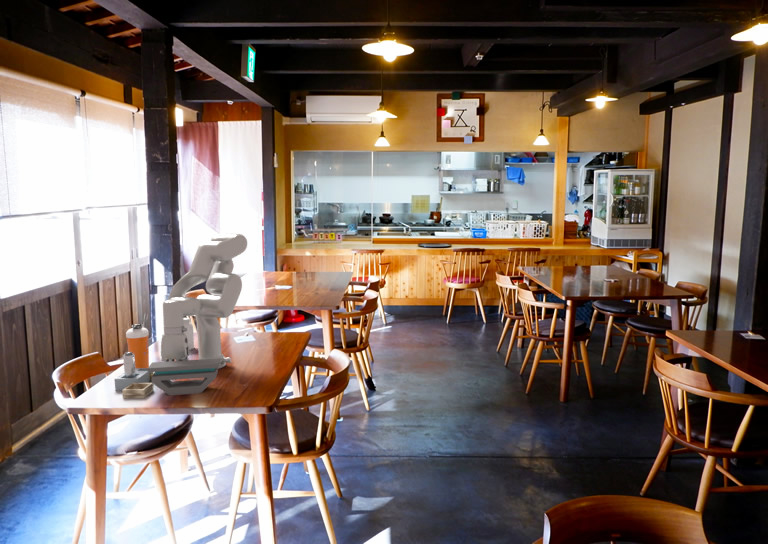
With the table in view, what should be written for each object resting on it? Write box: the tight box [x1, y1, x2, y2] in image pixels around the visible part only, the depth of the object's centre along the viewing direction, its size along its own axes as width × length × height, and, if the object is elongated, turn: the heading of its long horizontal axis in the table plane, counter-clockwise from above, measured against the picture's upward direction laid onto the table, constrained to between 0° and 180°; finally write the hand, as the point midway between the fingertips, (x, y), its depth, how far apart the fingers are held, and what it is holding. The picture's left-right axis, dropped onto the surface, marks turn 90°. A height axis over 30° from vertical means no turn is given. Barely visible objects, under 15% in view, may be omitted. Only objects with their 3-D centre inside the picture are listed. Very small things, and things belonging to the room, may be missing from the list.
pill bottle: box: [183, 317, 195, 351], centre depth 285 cm, size 8×8×15 cm
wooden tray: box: [121, 382, 154, 399], centre depth 221 cm, size 8×8×3 cm
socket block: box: [114, 368, 154, 391], centre depth 232 cm, size 9×14×4 cm, turn 178°
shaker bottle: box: [125, 323, 150, 368], centre depth 248 cm, size 9×9×20 cm
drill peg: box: [122, 351, 136, 378], centre depth 228 cm, size 4×4×14 cm
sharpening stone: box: [148, 358, 220, 396], centre depth 223 cm, size 25×8×11 cm, turn 100°
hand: (175, 375), depth 236 cm, fingers closed
